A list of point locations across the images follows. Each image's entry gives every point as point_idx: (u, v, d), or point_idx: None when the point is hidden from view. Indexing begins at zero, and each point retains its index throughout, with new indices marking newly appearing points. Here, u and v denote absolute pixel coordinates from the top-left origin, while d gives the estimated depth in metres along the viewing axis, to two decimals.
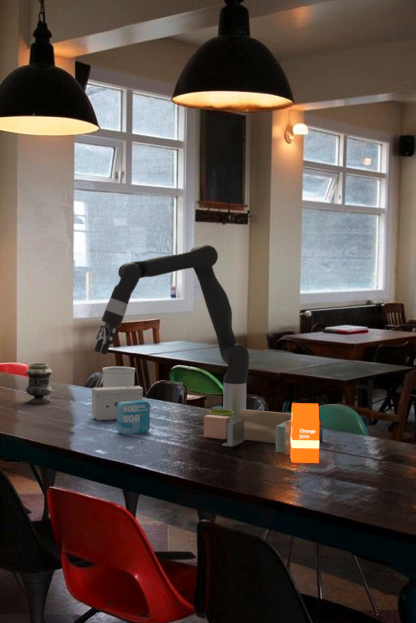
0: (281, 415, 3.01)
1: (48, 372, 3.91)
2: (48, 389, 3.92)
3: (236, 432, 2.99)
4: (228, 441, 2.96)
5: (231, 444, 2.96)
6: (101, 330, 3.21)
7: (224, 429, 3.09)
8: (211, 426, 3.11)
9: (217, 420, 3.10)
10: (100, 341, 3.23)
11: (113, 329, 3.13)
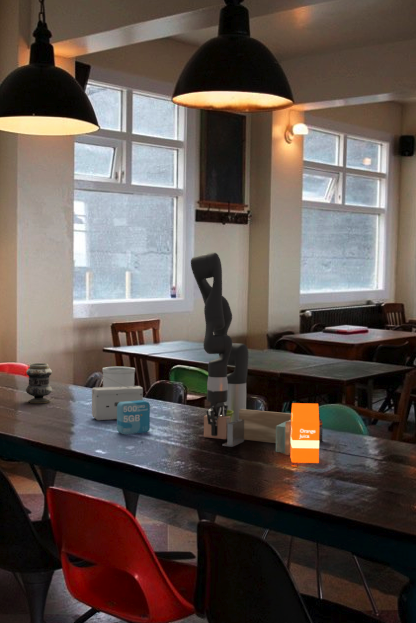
0: (281, 415, 3.01)
1: (48, 372, 3.91)
2: (48, 389, 3.92)
3: (236, 432, 2.99)
4: (228, 441, 2.96)
5: (231, 444, 2.96)
6: (218, 412, 3.09)
7: (224, 428, 3.09)
8: None
9: None
10: None
11: None
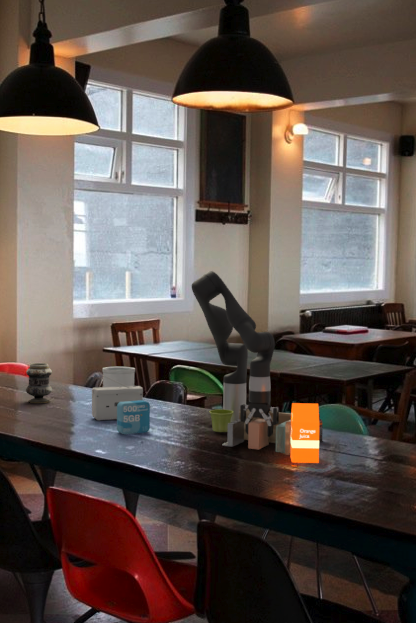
0: (281, 415, 3.01)
1: (48, 372, 3.91)
2: (48, 389, 3.92)
3: (236, 432, 2.99)
4: (228, 441, 2.96)
5: (231, 444, 2.96)
6: None
7: None
8: (262, 432, 2.94)
9: (265, 423, 2.96)
10: None
11: None
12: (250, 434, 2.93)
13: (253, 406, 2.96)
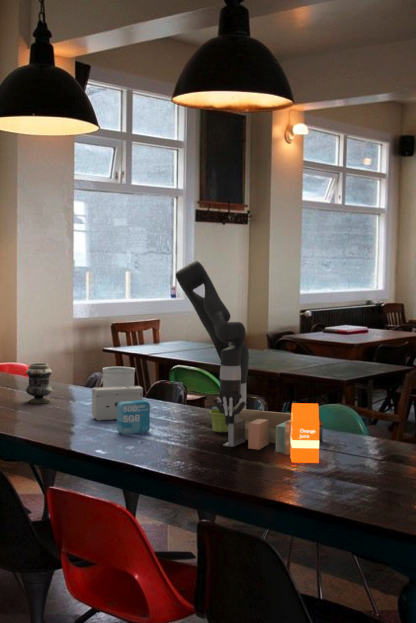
0: (281, 415, 3.01)
1: (48, 372, 3.91)
2: (48, 389, 3.92)
3: (237, 432, 2.98)
4: (229, 441, 2.96)
5: (232, 444, 2.96)
6: None
7: (268, 431, 2.99)
8: (262, 432, 2.94)
9: (265, 423, 2.96)
10: None
11: None
12: (250, 434, 2.93)
13: (224, 395, 3.00)
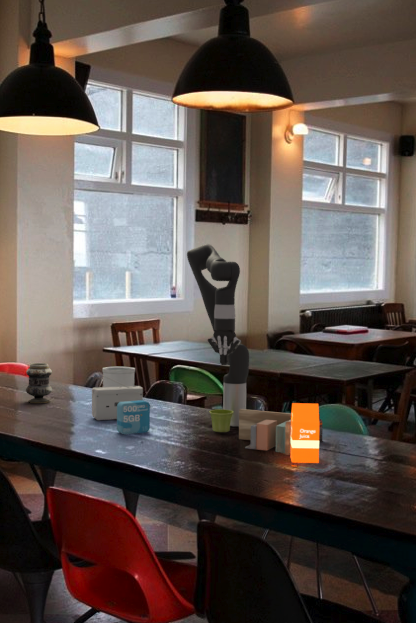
0: (281, 415, 3.01)
1: (48, 372, 3.91)
2: (48, 389, 3.92)
3: None
4: (251, 444, 2.92)
5: (254, 447, 2.92)
6: None
7: None
8: (270, 433, 2.93)
9: (273, 424, 2.95)
10: None
11: None
12: (258, 435, 2.92)
13: (218, 334, 3.03)
